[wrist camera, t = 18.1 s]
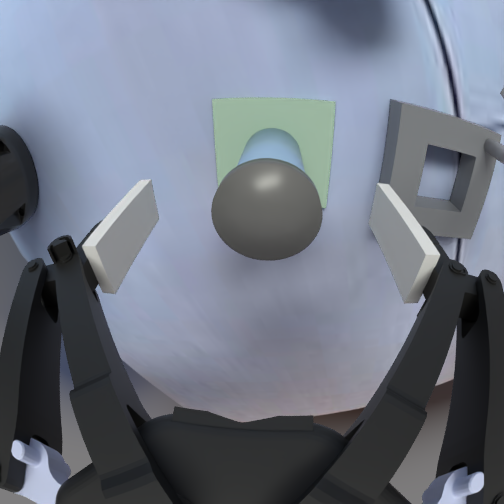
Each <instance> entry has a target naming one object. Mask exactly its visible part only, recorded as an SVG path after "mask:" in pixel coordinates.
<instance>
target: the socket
mask: <svg viewBox="0 0 504 504" xmlns="http://www.w3.org/2000/svg"><path fill="white" fill-rule="evenodd" d="M500 140H501V135H500V134H498V133H496V132H494V131H492V130H490V129H488V128H485V127H483V126H480V125H478V124H475V123H472V122H470V121H467V120H464V119H461V118H458V117H455V116H452V115H449V114H446V113H443V112H440V111H436V110H433V109H429V108H426V107H422V106H418V105H414V104H410V103H406V102H401V101H397V100H392V99H390V110H389V120H388V128H387V136H386V144H385V151H384V157H383V163H382V169H381V175H380V181H379V183H382V184H389V185H390V187H391V188H392V189H393V190H394V191H395V193H396V194H397V195H398V196H399V198H400V199H401V200H402V202H403V203H404V204H405V205H406V207H407V208H408V209H409V211H410V212H411V213H412V215H413V216H414V217H415V219H416V220H417V221H418V223H419V224H420V226H424V227H426V228H427V229H428V230H429V231H430V232H432V234H433V235H434V236H441V237H453V238H464V239H471V237H472V234H473V232H474V229H475V227H476V224H477V221H478V219H479V216H480V213H481V210H482V207H483V205H484V201H485V198H486V195H487V192H488V189H489V185H490V182H491V178H492V175H493V171H494V167H495V163H496V159H497V160H498V161H500V162H501V163H503V164H504V145H502V144H500ZM428 144H429V145H434V146H438V147H442V148H446V149H450V150H454V151H457V152H461V153H462V155H461V159H460V164H459V168H458V172H457V176H456V180H455V184H454V187H453V191H452V194H451V198H450V201H448V200H442V199H435V198H429V197H421V196H417V193H418V189H419V185H420V181H421V176H422V172H423V167H424V162H425V157H426V152H427V147H428Z"/></svg>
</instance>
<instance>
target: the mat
mask: <svg viewBox="0 0 504 504" xmlns="http://www.w3.org/2000/svg"><path fill="white" fill-rule="evenodd" d="M212 105H213V122H214V137H215V152H216V165H217V178H218V187H219V185H220V183H221V181H222V180H223V178H224V177H225V176H226V175H227V174H228V173H229V172H230V171H231V170H232V169H233V168H235V167H236V166H237V165H238V162H239V160H240V157H241V155H242V153H243V150H244V148H245V146H246V143H247V141H248V140H249V138H250V137H251V136H252V135H253V134H255V133H256V132H258V131H260V130H263V129H267V128H277V129H281V130H284V131H286V132H288V133H289V134H290V135H292V136H293V137H294V139H295V140H296V141H297V143H298V145H299V148H300V152H301V156H302V161H303V166H304V170H305V173H306V174H307V175H308V176H309V177H310V179H311V180H312V181H313V183H314V185H315V186H316V189H317V191H318V194H319V198H320V202H321V206H322V208H326V203H327V194H328V186H329V176H330V167H331V156H332V145H333V132H334V118H335V102H334V101H324V100H312V99H296V98H223V99H212Z"/></svg>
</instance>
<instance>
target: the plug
mask: <svg viewBox="0 0 504 504" xmlns="http://www.w3.org/2000/svg"><path fill="white" fill-rule="evenodd" d="M211 212H212V220H213V224H214V227H215V229H216V231H217V233H218V235H219V236H220V238H221V239H222V240H223V241H224V242H225V243H226V244H227V245H228V246H229V247H230V248H232V249H233V250H234V251H236V252H238V253H240V254H242V255H244V256H246V257H249V258H253V259H258V260H280V259H284V258H288V257H291V256H293V255H295V254H297V253H299V252H301V251H302V250H304V249H305V248H306V247H307V246H309V245H310V243H311V242H312V241H313V240H314V239H315V237H316V236H317V234H318V232H319V229H320V226H321V222H322V206H321V202H320V198H319V194H318V191H317V189H316V186H315V185H314V183H313V181H312V180H311V179H310V177H309V176H308V175H307V174H306V173H305V170H304V166H303V161H302V156H301V152H300V148H299V145H298V143H297V141H296V140H295V139H294V137H293V136H292V135H290V134H289V133H288V132H286V131H284V130H281V129H277V128H267V129H263V130H260V131H258V132H256V133H255V134H253V135H252V136H251V137H250V138H249V140H248V141H247V143H246V146H245V148H244V150H243V153H242V155H241V157H240V160H239V162H238V165H237V166H236V167H235V168H233V169H232V170H231V171H230V172H229V173H228V174H227V175H226V176H225V177H224V178H223V180H222V181H221V183H220V185H219V187H218V189H217V191H216V194H215V196H214V198H213V202H212V210H211Z"/></svg>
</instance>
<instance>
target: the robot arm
mask: <svg viewBox="0 0 504 504" xmlns="http://www.w3.org/2000/svg"><path fill="white" fill-rule="evenodd" d="M37 202H38V182H37V176H36V171H35V168H34V164H33V161H32V158H31V156H30V153H29V151H28V149H27V147H26V145H25V144H24V142H23V141H22V139H21V138H20V136H19V135H18V134H17V133H16V132H15V131H14V130H12V129H11V128H9V127H7V126H3V125H0V236H1V235H3V234H5V233H8V232H10V231H12V230H15V229H17V228H19V227H21V226H22V225H23V224H24V223H25V222H26V221H28V220H29V219H30V218H31V217H32V215H33V214H34V212H35V210H36V207H37ZM158 220H159V215H158V211H157V206H156V201H155V196H154V191H153V186H152V181H151V179H150V180H140V181H139V182H138V183H137V184H136V185H135V186H134V187H133V188H132V189H131V190H130V191H129V192H128V193H127V194H126V195H125V196H124V197H123V199H122V200H121V201H120V202H119V203H118V204H117V205H116V206H115V207H114V208H113V210H112V211H111V212H110V213H109V214H108V215H107V216H106V217H105V219H104V220H102V221H100V222H99V223H98V224H96V225H95V226H94V227H93V228H92V230H91V231H90V232H89V233H88V234H87V235H86V237H85V238H84V239H83V240H82V242H81V243H80V244H79V245H78V247H77V248H76V247H75V245H74V242H73V240H72V238H71V236H69V235H65V236H61V237H59V238H57V239H55V240H54V241H53V242H51V243H50V245H49V246H48V249H47V250H48V252H49V254H50V256H51V258H52V260H53V262H54V264H52V265H48V266H46V265H45V263H44V261H43V259H41V258H37V259H34V260H31V262H29V263H28V264H27V265H26V266H25V268H24V270H23V272H22V275H21V278H20V281H19V283H18V286H17V290H16V293H15V296H14V299H13V302H12V306H11V309H10V313H9V317H8V320H7V325H6V329H5V333H4V337H3V342H2V347H1V352H0V488H2V489H5V490H8V491H10V492H13V493H16V494H19V495H22V496H25V497H27V498H29V499H31V500H32V501H34V502H36V503H37V504H411V503H410V502H409V501H408V500H407V499H406V498H405V497H404V496H403V495H402V494H401V493H400V492H398V491H397V490H396V489H395V488H394V487H393V486H392V485H391V484H390V483H389V481H390V480H391V478H392V477H393V475H394V474H395V472H396V471H397V469H398V468H399V466H400V465H401V463H402V461H403V460H404V458H405V457H406V455H407V453H408V451H409V450H410V448H411V446H412V444H413V443H414V441H415V439H416V437H417V435H418V434H419V432H420V430H421V428H422V426H423V424H424V422H425V419H426V417H427V412H426V411H425V407H426V405H427V402H428V400H429V398H430V396H431V394H432V391H433V389H434V387H435V384H436V382H437V380H438V377H439V375H440V372H441V370H442V367H443V364H444V362H445V359H446V356H447V353H448V350H449V347H450V344H451V341H452V338H453V335H454V332H455V328H456V325H457V340H456V360H455V372H454V382H453V390H452V397H451V404H450V410H449V416H448V421H447V426H446V431H445V435H444V440H443V444H442V448H441V452H440V456H439V461H438V466H437V473H436V479H435V480H434V481H433V482H432V483H431V484H430V486H429V487H428V489H427V490H426V491H424V493H423V495H422V500H423V503H422V504H504V292H503V288H502V284H501V281H500V279H499V278H498V277H497V275H496V274H495V273H494V272H491V271H489V270H482V271H481V273H480V274H479V276H478V277H475V276H472V275H468V272H467V270H466V268H465V267H464V266H463V265H462V264H461V263H459V262H458V261H455V260H451V259H449V257H448V256H447V254H446V253H445V251H444V250H443V248H442V247H441V245H439V242H438V241H437V240H436V238H435V237H434V235H433V234H432V232H430V231H429V230H428V229H427V228H426V227H424V226H420V224H419V223H418V221H417V220H416V219H415V217H414V216H413V215H412V213H411V212H410V211H409V209H408V208H407V207H406V205H405V204H404V203H403V202H402V200H401V199H400V198H399V196H398V195H397V194H396V193H395V191H394V190H393V189H392V188H391V187H390V185H389V184H382V183H377V185H376V190H375V196H374V200H373V205H372V210H371V214H370V219H369V223H368V224H369V225H370V227H371V229H372V232H373V234H374V236H375V238H376V240H377V242H378V244H379V246H380V248H381V250H382V252H383V255H384V257H385V259H386V261H387V263H388V266H389V268H390V270H391V273H392V275H393V277H394V280H395V282H396V284H397V287H398V289H399V292H400V294H401V297H402V299H403V302H404V303H418V301H419V299H420V297H421V296H422V294H424V297H425V299H426V300H425V302H424V304H423V306H422V307H421V309H420V311H419V313H418V314H417V319H416V321H415V323H414V325H413V327H412V329H411V331H410V333H409V335H408V337H407V339H406V341H405V343H404V345H403V347H402V348H401V350H400V352H399V354H398V356H397V358H396V359H395V361H394V363H393V365H392V366H391V368H390V370H389V371H388V373H387V375H386V376H385V378H384V380H383V381H382V383H381V384H380V386H379V388H378V389H377V391H376V392H375V394H374V395H373V397H372V398H371V400H370V401H369V403H368V404H367V406H366V407H365V409H364V410H363V412H362V413H361V414H360V416H359V417H358V418H357V420H356V421H355V422H354V423H353V425H352V426H351V427H350V428H349V429H348V431H347V432H346V433H345V434H344V435H343V436H342V435H341V434H339V433H338V432H336V431H335V430H333V429H331V428H328V427H326V426H323V425H320V424H316V423H313V416H276V417H272V418H267V419H262V420H256V421H251V422H244V423H241V422H237V421H234V420H231V419H228V418H225V417H222V416H219V415H216V414H213V413H211V412H208V411H201V410H194V409H187V408H180V407H175V408H174V412H173V414H169V415H163V416H160V417H156V418H154V419H151V418H150V416H149V415H148V414H147V412H146V411H145V409H144V408H143V406H142V404H141V402H140V400H139V398H138V396H137V394H136V392H135V390H134V388H133V385H132V383H131V381H130V379H129V377H128V375H127V372H126V370H125V368H124V365H123V363H122V361H121V358H120V356H119V353H118V351H117V348H116V346H115V343H114V341H113V338H112V335H111V333H110V330H109V327H108V324H107V322H106V319H105V316H104V313H103V310H102V307H101V304H100V300H99V297H98V294H97V292H96V290H95V288H96V287H97V285H98V284H99V286H100V288H101V290H102V292H103V293H111V294H116V292H117V290H118V289H119V287H120V285H121V283H122V281H123V279H124V278H125V276H126V274H127V272H128V270H129V269H130V267H131V265H132V263H133V262H134V260H135V258H136V256H137V255H138V253H139V251H140V250H141V248H142V246H143V245H144V243H145V241H146V240H147V238H148V236H149V235H150V233H151V231H152V230H153V228H154V227H155V225H156V223H157V222H158ZM61 333H62V335H63V340H64V346H65V351H66V355H67V360H68V364H69V368H70V373H71V376H72V380H73V384H74V390H71V391H70V400H71V404H72V407H73V410H74V413H75V417H76V419H77V423H78V425H79V428H80V431H81V434H82V437H83V440H84V442H85V444H86V447H87V450H88V452H89V455H90V457H91V459H92V463H91V464H89V465H88V466H87V467H85V468H84V469H82V470H81V471H80V472H78V473H77V474H75V475H74V476H72V477H71V478H70V479H68V477H69V476H70V474H71V470H70V467H69V466H68V464H66V463H65V461H64V459H63V457H62V427H61V414H60V387H59V385H60V381H59V380H60V378H59V377H60V376H59V375H60V348H61Z"/></svg>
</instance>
